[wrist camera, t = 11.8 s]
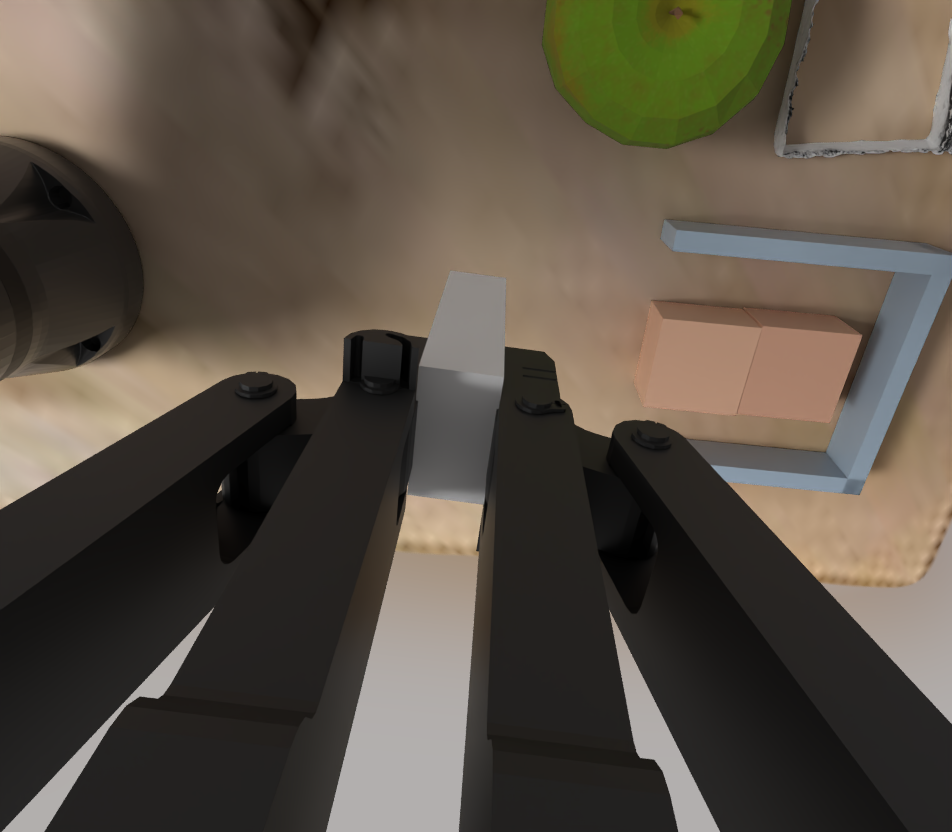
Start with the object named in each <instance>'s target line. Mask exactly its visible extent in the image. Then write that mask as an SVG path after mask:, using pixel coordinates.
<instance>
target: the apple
mask: <svg viewBox="0 0 952 832" xmlns="http://www.w3.org/2000/svg"><path fill="white" fill-rule="evenodd" d="M791 3H792V0H547V3H546V12H545V21H544V30H543V39H542V47H543V50H544V53H545V56H546V60H547V63H548V66H549V69H550V73H551V76H552V79H553V82H554V86H555V88H556V90H557V91H558V92H559V93H560V94H561V95H562V96H563V98H564V99H565V100H566V101H567V102H568V103H569V104H570V106H571V107H572V108H573V109H574V110H575V111H576V112H577V113H578V115H579V116H580V117H581V118H582V119H583V120H584V121H585V122H586V123H587V124H589V125H590V126H592V127H594V128H596V129H597V130H599V131H601V132H602V133H604V134H606V135H607V136H609V137H611V138H612V139H614V140H616V141H618V142H619V143H621V144H623V145H632V146H643V147H653V148H663V149H668V148H671V147H674V146H677V145H680V144H683V143H686V142H689V141H692V140H695V139H698V138H701V137H704V136H707V135H711V134H713V133H714V132H715V131H716V130H718V129H719V128H720V127H721V126H722V125H724V124H725V123H726V122H727V121H728V120H729V119H731V118H732V117H733V116H734V115H735V114H737V113H738V112H739V111H740V110H741V109H743V108H744V107H745V106H746V105H747V104H748V103H750V102H751V101H752V100H753V99H754V98H755V97H756V95H757V94H758V93H759V91H760V89H761V87H762V85H763V84H764V82H765V80H766V78H767V76H768V74H769V72H770V70H771V68H772V66H773V64H774V62H775V60H776V58H777V57H778V55H779V53H780V51H781V49H782V47H783V45H784V42H785V36H786V31H787V25H788V19H789V14H790V8H791Z"/></svg>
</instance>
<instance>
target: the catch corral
mask: <svg viewBox="0 0 952 832" xmlns="http://www.w3.org/2000/svg"><path fill="white" fill-rule="evenodd" d="M660 239H661V240H662V241H663V242H664V243H665V244H666V245H667V246H668V247H669V248H670V249H671V250H672V251H677V252H688V253H699V254H709V255H720V256H731V257H742V258H752V259H763V260H774V261H785V262H796V263H806V264H817V265H828V266H839V267H849V268H860V269H871V270H882V271H892V272H895V273H894V276H893V279H892V281H891V284H890V286H889V289H888V292H887V294H886V297H885V299H884V302H883V305H882V307H881V310H880V313H879V315H878V318H877V320H876V323H875V326H874V328H873V331H872V333H871V336H870V339H869V341H868V344H867V346H866V349H865V352H864V354H863V357H862V360H861V362H860V365H859V367H858V370H857V373H856V375H855V378H854V380H853V383H852V386H851V388H850V391H849V393H848V396H847V399H846V401H845V404H844V407H843V409H842V412H841V414H840V417H839V420H838V422H837V425H836V427H835V430H834V433H833V435H832V438H831V440H830V443H829V446H828V448H827V451H826V453H824V452H814V451H804V450H794V449H783V448H773V447H763V446H753V445H742V444H732V443H722V442H712V441H702V440H691V439H687V441H688V442H689V443H690V444H691V445H692V446H693V447H694V448H695V449H696V450H697V451H698V452H699V453H700V454H701V456H702V457H703V458H704V459H705V460H706V461H707V462H708V463H709V464H710V465H711V466H712V467H713V468H714V470H715V471H716V472H717V473H718V474H719V475H720V476H721V477H722V478H723V479H724V480H725V481H726V482H733V483H743V484H753V485H763V486H773V487H783V488H794V489H804V490H814V491H824V492H834V493H844V494H854V495H860V493H861V490H862V488H863V486H864V483H865V481H866V479H867V476H868V474H869V471H870V469H871V467H872V464H873V462H874V460H875V457H876V455H877V453H878V450H879V448H880V446H881V443H882V441H883V439H884V436H885V434H886V432H887V429H888V427H889V425H890V422H891V420H892V417H893V415H894V413H895V410H896V408H897V406H898V403H899V401H900V399H901V396H902V394H903V392H904V389H905V387H906V385H907V382H908V380H909V378H910V375H911V373H912V371H913V368H914V366H915V363H916V361H917V359H918V356H919V354H920V352H921V349H922V347H923V345H924V342H925V340H926V338H927V335H928V333H929V331H930V328H931V326H932V324H933V321H934V319H935V317H936V314H937V312H938V309H939V307H940V305H941V302H942V300H943V298H944V295H945V293H946V291H947V288H948V286H949V284H950V281H951V279H952V253H951V252H948V251H945V250H943V249H940V248H937V247H935V246H932V245H929V244H927V243H917V242H906V241H895V240H884V239H874V238H863V237H852V236H841V235H830V234H819V233H808V232H797V231H787V230H776V229H765V228H754V227H743V226H732V225H721V224H711V223H700V222H689V221H678V220H667V219H664V224H663V229H662V233H661V238H660Z"/></svg>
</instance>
